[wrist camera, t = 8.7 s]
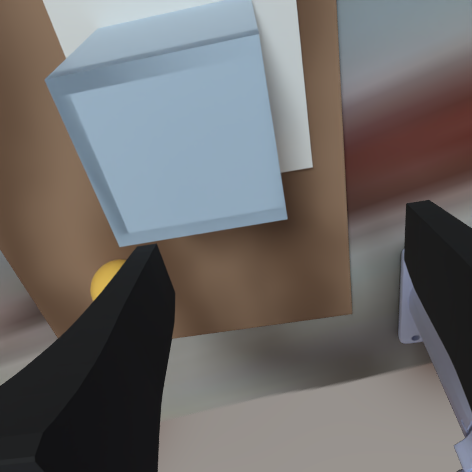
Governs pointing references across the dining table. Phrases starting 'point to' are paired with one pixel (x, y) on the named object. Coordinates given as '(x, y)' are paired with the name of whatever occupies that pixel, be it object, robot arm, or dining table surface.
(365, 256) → the dining table surface
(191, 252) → the board
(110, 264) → the marble
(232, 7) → the light blue cube
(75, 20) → the pad
